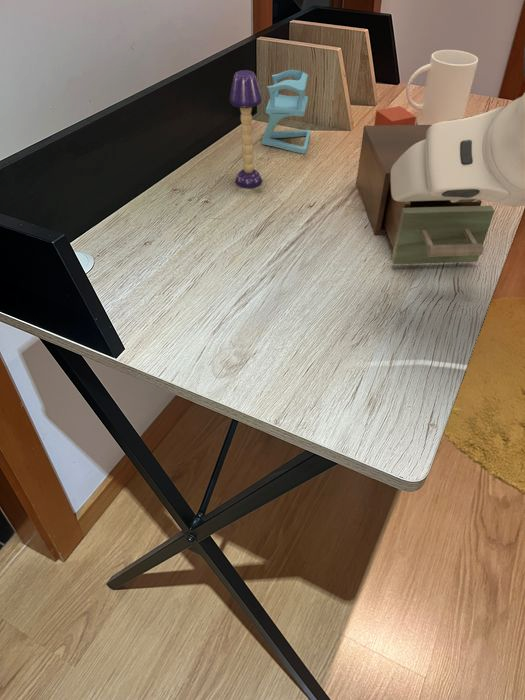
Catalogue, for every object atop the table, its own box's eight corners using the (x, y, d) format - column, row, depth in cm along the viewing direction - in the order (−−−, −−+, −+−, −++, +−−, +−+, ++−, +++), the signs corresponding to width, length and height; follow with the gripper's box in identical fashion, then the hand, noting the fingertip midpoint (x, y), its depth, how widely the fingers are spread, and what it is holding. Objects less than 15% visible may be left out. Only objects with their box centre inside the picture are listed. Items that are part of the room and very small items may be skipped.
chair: (265, 131, 106) (267, 62, 97) (310, 135, 105) (315, 66, 96) (259, 150, 100) (259, 79, 92) (306, 154, 99) (311, 82, 91)
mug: (402, 132, 106) (415, 64, 97) (396, 114, 112) (408, 47, 103) (466, 134, 106) (484, 66, 97) (457, 115, 112) (473, 49, 103)
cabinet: (460, 232, 83) (478, 170, 76) (374, 235, 82) (385, 173, 75) (432, 182, 93) (446, 124, 86) (355, 184, 92) (363, 125, 85)
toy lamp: (232, 188, 91) (229, 79, 79) (231, 174, 94) (228, 67, 82) (262, 188, 91) (264, 78, 79) (260, 173, 94) (261, 66, 82)
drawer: (490, 284, 73) (509, 232, 67) (402, 287, 72) (414, 235, 66) (447, 208, 86) (460, 159, 80) (372, 210, 85) (380, 161, 79)
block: (372, 137, 104) (376, 110, 101) (394, 133, 106) (399, 105, 102) (387, 149, 101) (392, 121, 98) (410, 144, 103) (416, 116, 99)
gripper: (628, 118, 53) (546, 166, 67) (414, 123, 52) (376, 170, 66) (631, 186, 54) (549, 219, 67) (417, 192, 52) (378, 225, 66)
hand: (462, 195), depth 67 cm, fingers closed
